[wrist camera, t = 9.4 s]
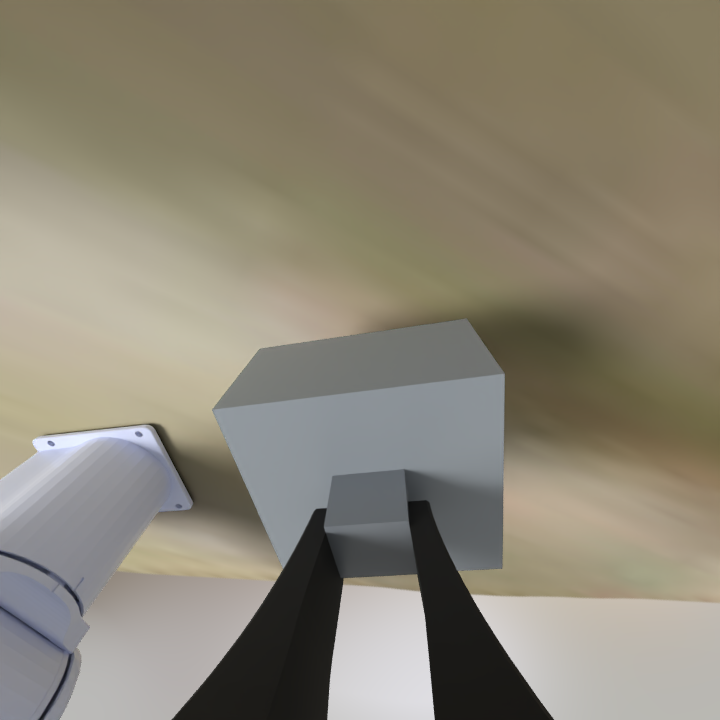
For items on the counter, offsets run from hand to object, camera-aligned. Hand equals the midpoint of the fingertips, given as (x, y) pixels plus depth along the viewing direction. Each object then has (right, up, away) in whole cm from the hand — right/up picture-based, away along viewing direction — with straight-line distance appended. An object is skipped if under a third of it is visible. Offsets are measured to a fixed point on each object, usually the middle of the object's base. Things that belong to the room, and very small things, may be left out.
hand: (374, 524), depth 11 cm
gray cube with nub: (0, +3, +5) cm, 6 cm away
